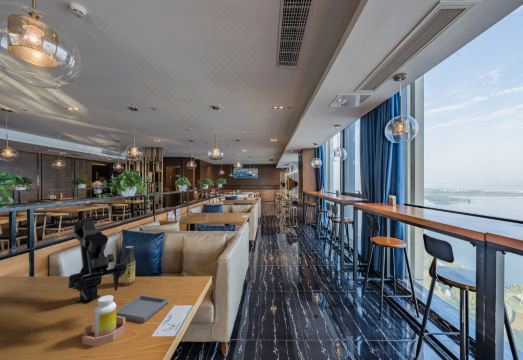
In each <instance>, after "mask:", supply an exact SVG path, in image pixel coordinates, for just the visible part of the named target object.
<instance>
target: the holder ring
mask: <svg viewBox="0 0 523 360" xmlns="http://www.w3.org/2000/svg"><path fill="white" fill-rule="evenodd" d="M126 320H127V319H126V317H121V316H116V325H121V326H120V327H118V328H116V331H114V332H113V333H110V334H107V335H104V336H100V337H97V338H95V336H90V335H89V334H91V333H93V332H94V322H92V323H90V324H89V325H88V326H86V327H84V329H83V334H82V338H81V339H82V341H81V342H82V343H81V344H82V345H86V346H88V347H89V346H90V347H94V348H96V347H98V346H99V347H100V346H101V345H105V344H109V343H111V342H114V341H116V340H117V339H118V338H119V337H120V336H122V335H123V334H124V333H125V332H126Z"/></svg>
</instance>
